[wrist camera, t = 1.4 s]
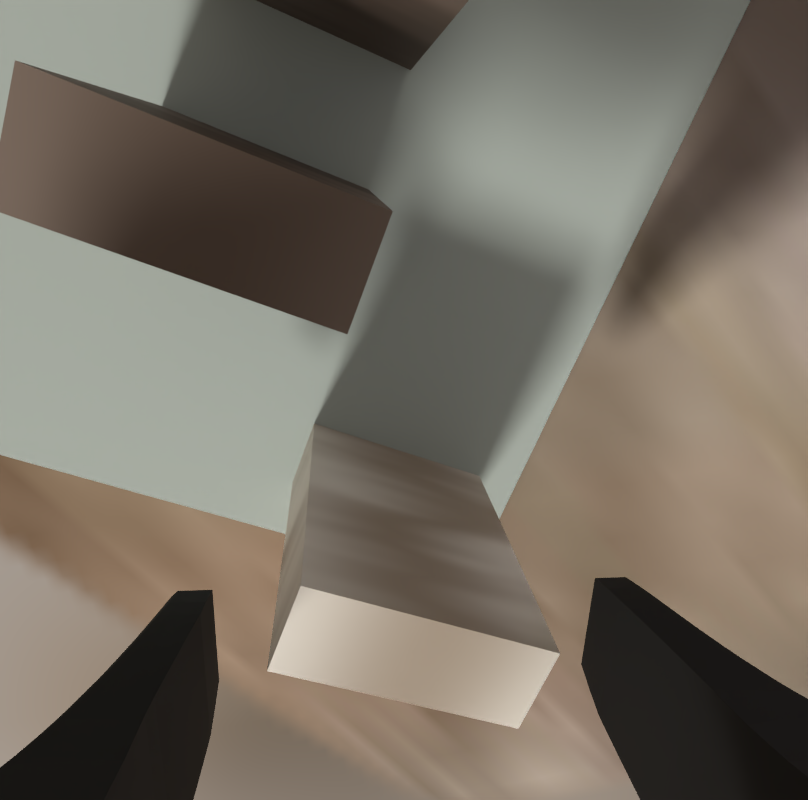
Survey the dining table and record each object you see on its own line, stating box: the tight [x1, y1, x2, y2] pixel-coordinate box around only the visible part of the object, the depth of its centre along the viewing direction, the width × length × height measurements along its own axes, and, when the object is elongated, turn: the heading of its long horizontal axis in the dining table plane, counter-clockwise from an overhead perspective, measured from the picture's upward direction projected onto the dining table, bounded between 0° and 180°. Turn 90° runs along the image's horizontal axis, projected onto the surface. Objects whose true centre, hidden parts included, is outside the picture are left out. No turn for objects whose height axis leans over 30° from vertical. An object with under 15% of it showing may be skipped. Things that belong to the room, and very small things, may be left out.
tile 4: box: [0, 60, 393, 334], centre depth 12 cm, size 5×2×7 cm, turn 69°
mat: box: [0, 0, 751, 534], centre depth 14 cm, size 16×26×1 cm, turn 159°
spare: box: [267, 424, 560, 729], centre depth 15 cm, size 5×2×7 cm, turn 69°
